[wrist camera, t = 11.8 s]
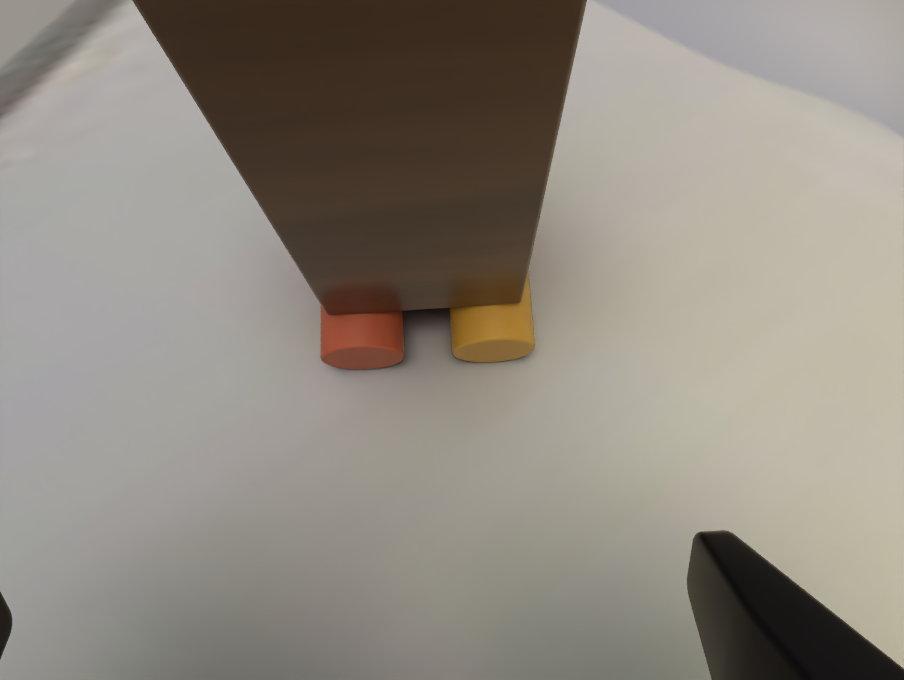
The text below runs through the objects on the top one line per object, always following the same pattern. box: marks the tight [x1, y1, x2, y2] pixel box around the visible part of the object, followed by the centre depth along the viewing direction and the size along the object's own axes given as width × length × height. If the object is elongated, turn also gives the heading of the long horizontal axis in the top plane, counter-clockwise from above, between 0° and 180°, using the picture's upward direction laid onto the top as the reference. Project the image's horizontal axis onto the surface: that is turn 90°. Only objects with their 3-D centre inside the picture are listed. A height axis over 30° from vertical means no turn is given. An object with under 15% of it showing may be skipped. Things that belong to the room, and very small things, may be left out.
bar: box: [133, 0, 587, 315], centre depth 13 cm, size 4×5×12 cm
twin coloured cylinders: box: [321, 273, 535, 369], centre depth 20 cm, size 6×6×2 cm
